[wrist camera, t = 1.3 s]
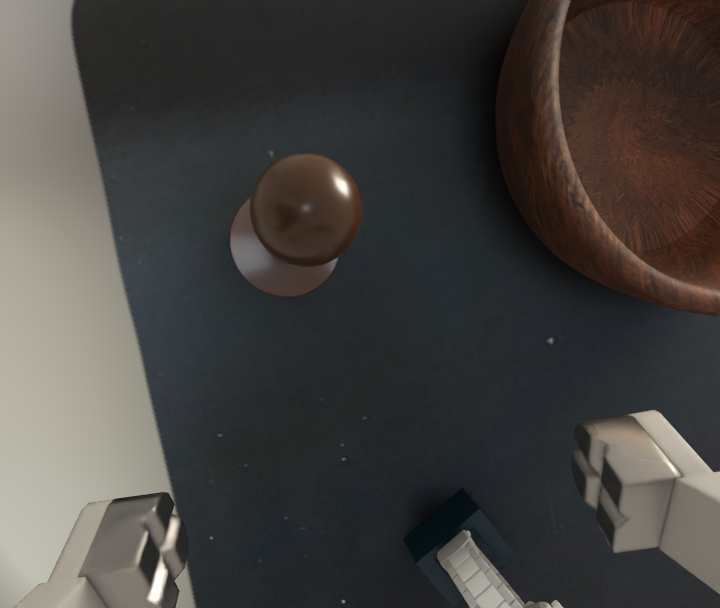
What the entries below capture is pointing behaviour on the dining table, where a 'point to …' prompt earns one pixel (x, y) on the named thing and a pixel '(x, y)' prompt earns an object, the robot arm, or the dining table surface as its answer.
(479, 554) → the watch
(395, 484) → the dining table surface
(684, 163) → the wooden bowl
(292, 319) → the dining table surface
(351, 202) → the dish brush
